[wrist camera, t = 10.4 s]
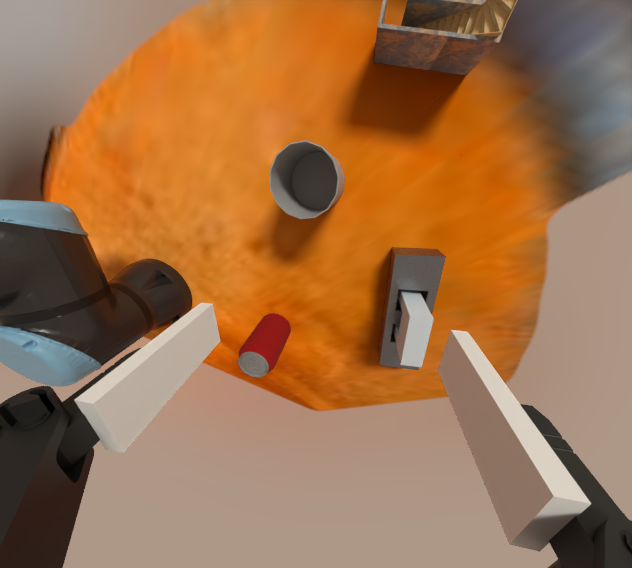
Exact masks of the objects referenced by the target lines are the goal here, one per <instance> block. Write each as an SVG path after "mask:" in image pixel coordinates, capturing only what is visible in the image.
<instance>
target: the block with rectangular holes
mask: <svg viewBox="0 0 632 568" xmlns="http://www.w3.org/2000/svg"><path fill="white" fill-rule="evenodd" d="M445 258H446V256H444V255H443V254H442V253H441V252H440V251H439V250H438V249H419V248H394V247H392V253H391V260H390V267H389V275H388V282H387V289H386V296H385V304H384V311H383V318H382V326H381V333H380V340H379V348H378V356H379V365H382V366H390V367H398V368H406V369H414V370H418V369H419V367H414V366H406V365H400V360H399V355H398V350H397V346H396V341H395V336H394V331H393V329H392V327H393V324H400V323H401V317H402V309H401V306H400V303H399V300H397V296H398V290H399V289H404V290H418V291H420V293H421V295H422V297H423V299H424V301H425V303H426V305H427V307H428V309H429V311H430V313H431V315H432V311H433V307H434V303H435V299H436V295H437V291H438V287H439V282H440V278H441V274H442V270H443V266H444V262H445Z"/></svg>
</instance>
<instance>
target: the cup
mask: <svg viewBox="0 0 632 568" xmlns="http://www.w3.org/2000/svg"><path fill="white" fill-rule="evenodd" d="M344 182H345V177H344V173H343V170H342V166H341V164H340V163H339V162H338V161H337V160H336V159H335V158H334V156H333V155H331V154H330V153H329V152H328V151H327V150H326V149H325V148H323V147H322V146H320V145H317V144H315V143H312V142H309V141H307V140H305V141H299V142H294V143H289V144H288V145H287V146H286V147H285V148H283V149H282V150H281V151H280V152H279V153H277V155H276V157H275V159H274V161H273V164H272V166H271V168H270V189H271V192H272V194H273V197H274V199H275V202H276V203H277V204H278V205H279V206H280V207H281V208H282V210H283V211H284V212H285V213H286V214H288V215H291V216H294V217H296V218H299V219H307V218H315V217H317V216H319V215H320V214H322V213H323V212H325V211H326V210H328V209H329V208H330V207H331V206H333V205H334V204H335V203H336V202H337V201H338V199H339V197H340V196H341V194H342V193H343V189H344Z"/></svg>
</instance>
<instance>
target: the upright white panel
mask: <svg viewBox="0 0 632 568" xmlns="http://www.w3.org/2000/svg"><path fill="white" fill-rule="evenodd" d="M398 299H399V303H400V306H401V309H402V317H401V323H400V324H393V331H394V336H395V341H396V346H397V350H398V355H399V360H400V365H406V366H414V367H422V364H423V360H424V356H425V352H426V348H427V344H428V340H429V336H430V332H431V328H432V324H433V320H434V318H433V316H432V315H431V313H430V311H429V309H428V307H427V305H426V303H425V301H424V299H423V297H422V295H421V293H420V291H418V290H404V289H399V290H398Z"/></svg>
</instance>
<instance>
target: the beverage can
mask: <svg viewBox="0 0 632 568" xmlns="http://www.w3.org/2000/svg"><path fill="white" fill-rule="evenodd" d="M290 331H291V328H290V324H289V322H288V321H287V320H286V319H285V318H284V317H282V316H280V315H278V314H268V315H266V316H264V317H263V319H262V320H261V321H260V322H259V324H258V325H257V327H256V328H255V329H254V331H253V332H252V333H251V335H250V336H249V338H248V339H247V340H246V342H245V343H244V345H243V346H242V347H241V349H240V351H239V359H238V364H239V367H240V368H241V370H242V371H243V372H244V373H246V374H247V375H249V376H252V377H262V376H264V375H265V374H266V373H268V372H270V371H271V370H272V369H273V368H274V366H275V364H276V362H277V360H278V358H279V356H280V354H281V352H282V350H283V347H284V345H285V343H286V341H287V339H288V336H289V334H290Z"/></svg>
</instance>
